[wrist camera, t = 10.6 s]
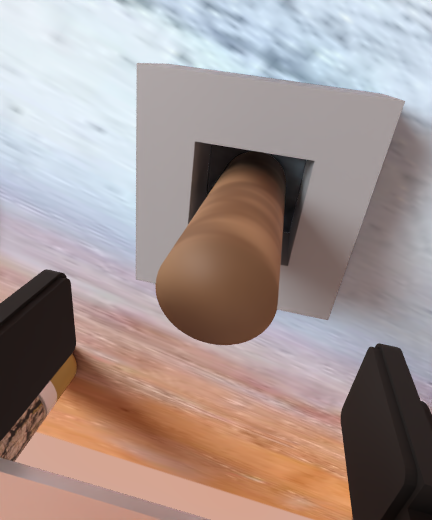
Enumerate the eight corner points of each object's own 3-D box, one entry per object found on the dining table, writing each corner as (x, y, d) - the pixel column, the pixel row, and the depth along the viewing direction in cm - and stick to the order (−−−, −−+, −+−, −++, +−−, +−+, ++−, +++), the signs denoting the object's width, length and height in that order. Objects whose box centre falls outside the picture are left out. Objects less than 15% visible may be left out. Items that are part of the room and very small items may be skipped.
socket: (381, 93, 21) (405, 101, 16) (322, 279, 27) (328, 320, 23) (167, 63, 22) (136, 63, 18) (159, 247, 29) (135, 279, 24)
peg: (292, 157, 23) (290, 255, 11) (278, 218, 25) (265, 355, 13) (226, 146, 24) (157, 229, 12) (219, 207, 26) (153, 330, 14)
